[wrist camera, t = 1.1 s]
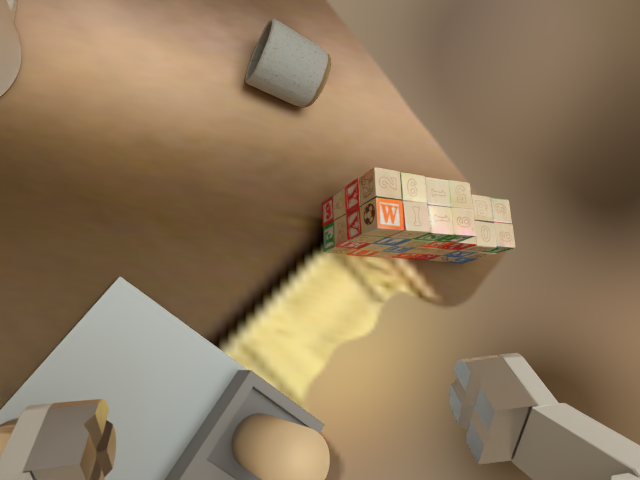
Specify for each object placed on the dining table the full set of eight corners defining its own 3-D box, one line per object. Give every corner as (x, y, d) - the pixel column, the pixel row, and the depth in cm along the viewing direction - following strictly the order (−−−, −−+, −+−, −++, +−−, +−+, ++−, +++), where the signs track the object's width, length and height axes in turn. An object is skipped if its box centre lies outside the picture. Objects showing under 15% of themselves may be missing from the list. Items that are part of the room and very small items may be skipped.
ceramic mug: (302, 121, 57) (330, 89, 51) (239, 95, 54) (260, 56, 48) (316, 54, 61) (344, 15, 54) (258, 25, 58) (280, -19, 51)
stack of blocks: (458, 220, 65) (530, 192, 54) (462, 264, 63) (538, 244, 53) (320, 202, 56) (374, 165, 45) (321, 253, 54) (378, 227, 44)
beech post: (-36, 462, 36) (-78, 495, 27) (14, 405, 38) (-10, 419, 29) (19, 494, 37) (-4, 536, 28) (65, 437, 39) (57, 460, 30)
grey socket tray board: (-52, 468, 36) (-127, 525, 24) (119, 277, 44) (129, 246, 32) (197, 613, 41) (242, 722, 28) (309, 416, 49) (380, 435, 37)
